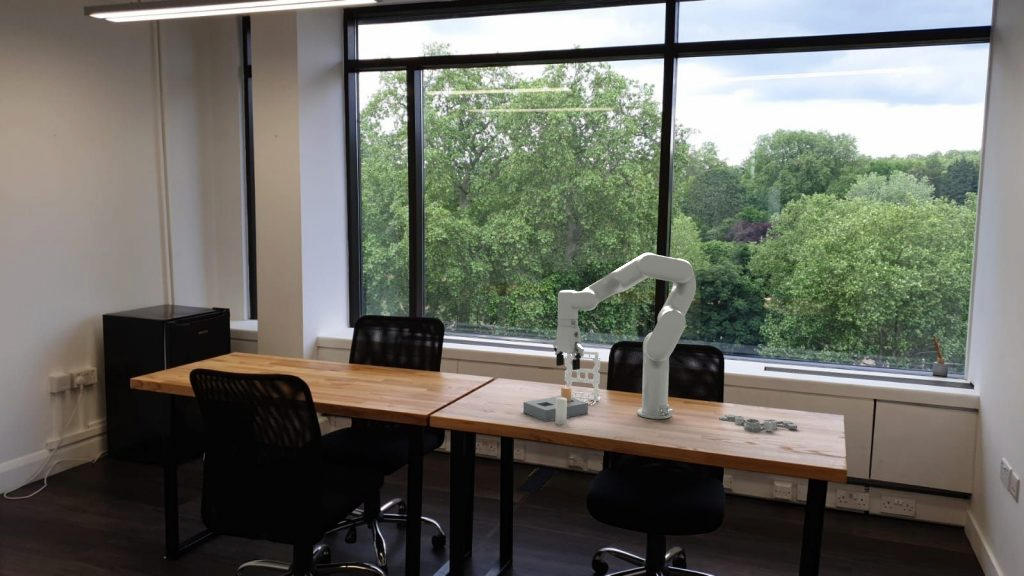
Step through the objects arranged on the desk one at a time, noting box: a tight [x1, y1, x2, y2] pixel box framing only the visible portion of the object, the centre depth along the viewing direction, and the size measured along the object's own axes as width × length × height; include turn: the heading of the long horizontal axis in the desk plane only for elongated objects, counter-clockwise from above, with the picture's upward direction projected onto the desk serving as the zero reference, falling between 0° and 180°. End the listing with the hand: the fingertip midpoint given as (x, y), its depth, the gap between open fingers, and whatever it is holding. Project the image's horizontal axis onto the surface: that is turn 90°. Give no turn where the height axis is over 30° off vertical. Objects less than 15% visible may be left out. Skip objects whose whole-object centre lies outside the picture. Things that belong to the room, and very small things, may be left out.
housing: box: [522, 395, 589, 422], centre depth 270 cm, size 14×20×4 cm
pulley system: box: [718, 414, 798, 433], centre depth 256 cm, size 27×5×15 cm
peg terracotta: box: [560, 386, 573, 403], centre depth 273 cm, size 4×4×9 cm
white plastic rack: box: [564, 351, 602, 406], centre depth 289 cm, size 14×14×20 cm
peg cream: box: [554, 396, 568, 426], centre depth 256 cm, size 4×4×9 cm
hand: (568, 367), depth 272 cm, fingers open, 9 cm apart
